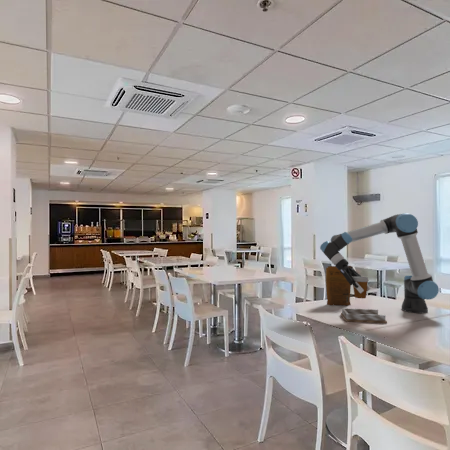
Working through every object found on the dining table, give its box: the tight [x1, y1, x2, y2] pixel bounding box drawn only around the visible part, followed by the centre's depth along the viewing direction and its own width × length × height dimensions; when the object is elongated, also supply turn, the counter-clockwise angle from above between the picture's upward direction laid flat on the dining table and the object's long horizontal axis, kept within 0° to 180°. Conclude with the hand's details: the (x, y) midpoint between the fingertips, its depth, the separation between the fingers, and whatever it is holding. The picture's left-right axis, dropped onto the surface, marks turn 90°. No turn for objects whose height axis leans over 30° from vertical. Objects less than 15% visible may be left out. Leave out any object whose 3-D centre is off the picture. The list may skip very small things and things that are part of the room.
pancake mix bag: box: [325, 265, 354, 307], centre depth 242 cm, size 7×19×28 cm, turn 83°
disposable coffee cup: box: [352, 275, 369, 299], centre depth 204 cm, size 10×10×12 cm
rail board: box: [340, 307, 388, 324], centre depth 203 cm, size 22×17×4 cm
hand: (365, 290), depth 202 cm, fingers closed on disposable coffee cup, 9 cm apart
